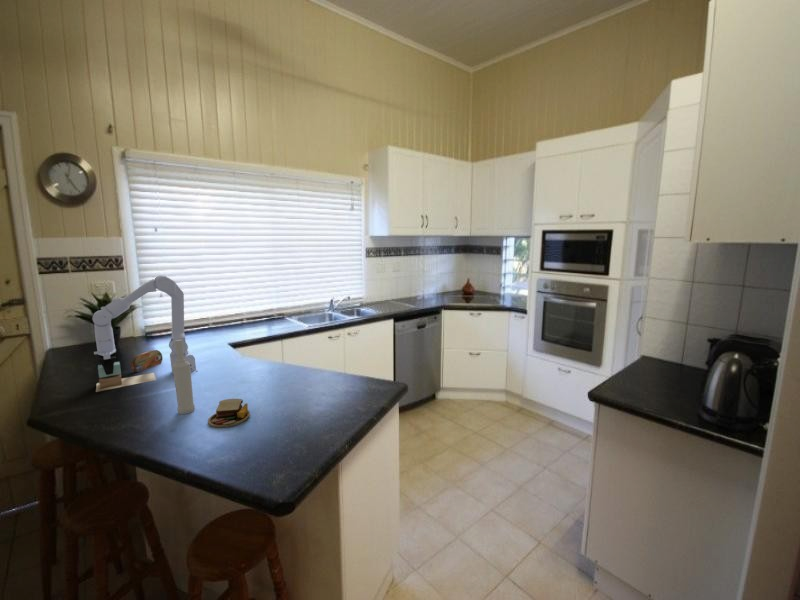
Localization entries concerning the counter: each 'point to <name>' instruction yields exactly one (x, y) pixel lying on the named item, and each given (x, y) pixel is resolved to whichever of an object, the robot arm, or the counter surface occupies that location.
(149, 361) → the tin
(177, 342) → the bottle
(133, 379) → the birch board
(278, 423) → the counter surface
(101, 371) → the teal brick
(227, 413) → the toy sandwich meal
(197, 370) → the robot arm
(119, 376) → the walnut block
